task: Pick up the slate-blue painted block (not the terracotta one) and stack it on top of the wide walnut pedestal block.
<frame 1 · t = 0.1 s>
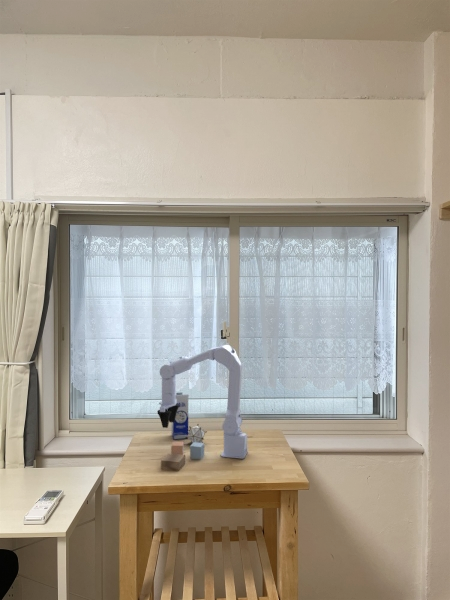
hand: (168, 424, 180), 10 cm above the table, fingers open, 7 cm apart
game die: (196, 444, 186), on the table
slate block: (197, 457, 171), on the table
milk carton: (179, 437, 195), on the table
walnut base: (173, 466, 161), on the table
terracotta block: (177, 456, 172), on the table
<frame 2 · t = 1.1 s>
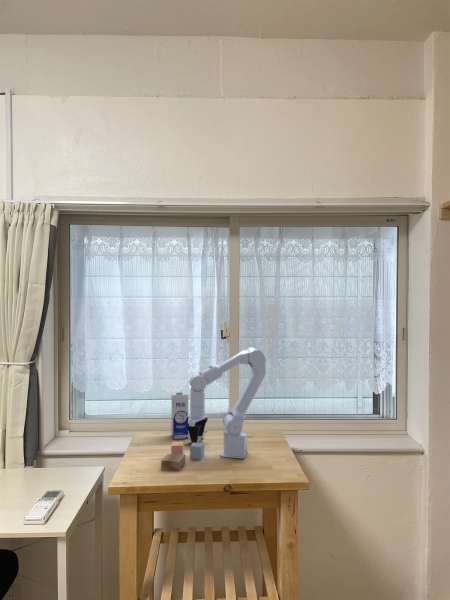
hand: (197, 439, 171), 7 cm above the table, fingers open, 7 cm apart
nothing on the table moved.
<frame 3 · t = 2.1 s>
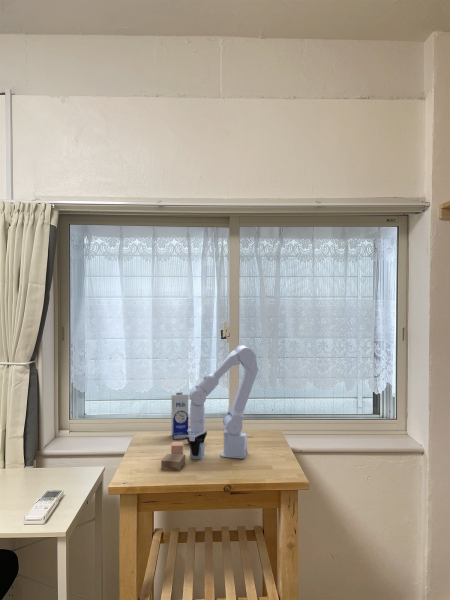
hand: (197, 453, 171), 1 cm above the table, fingers closed on slate block, 4 cm apart
slate block: (197, 456, 171), on the table, touching gripper
everything else where it was.
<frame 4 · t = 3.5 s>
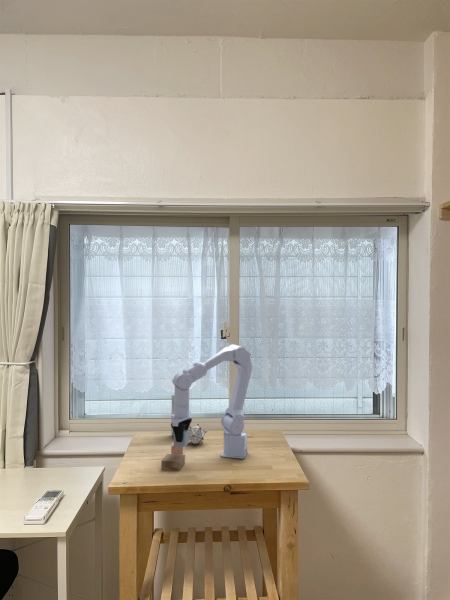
hand: (181, 439, 165), 9 cm above the table, fingers closed on slate block, 4 cm apart
slate block: (181, 444, 165), point 7 cm above the table, touching gripper
everything else where it was.
when the fingers open (6 cm above the table, at t = 4.7 s): slate block drops 1 cm, resting on walnut base.
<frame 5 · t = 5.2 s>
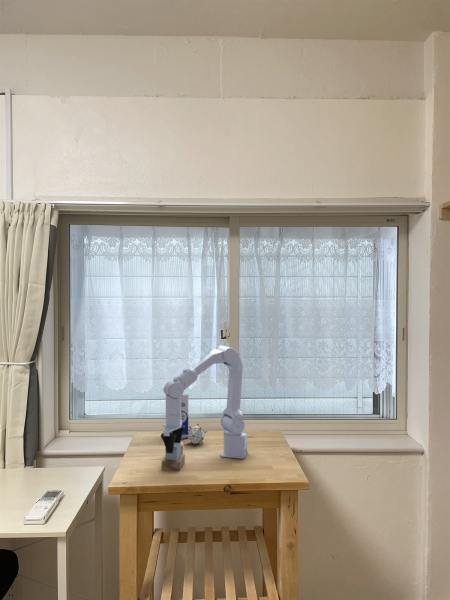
hand: (173, 449, 161), 6 cm above the table, fingers open, 7 cm apart
slate block: (173, 457, 162), point 3 cm above the table, touching walnut base
walnut base: (173, 467, 162), on the table, touching slate block
everything else where it was.
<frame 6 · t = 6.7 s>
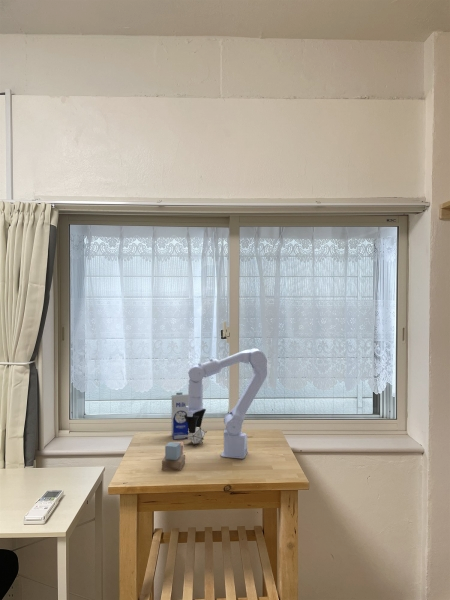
hand: (195, 429, 172), 10 cm above the table, fingers open, 7 cm apart
slate block: (173, 457, 162), point 3 cm above the table
walnut base: (173, 467, 161), on the table
everything else where it was.
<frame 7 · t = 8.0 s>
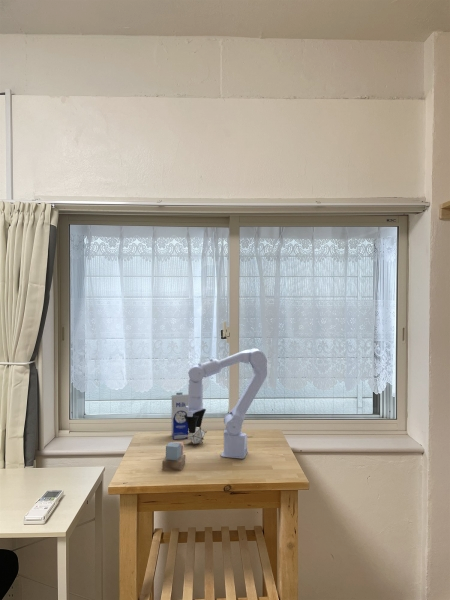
hand: (195, 429, 172), 10 cm above the table, fingers open, 7 cm apart
nothing on the table moved.
at the end: slate block 0.2 cm off-centre on the walnut base, point 3.5 cm above the walnut base's base; slate block tilted 1°; the gripper is holding nothing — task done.
